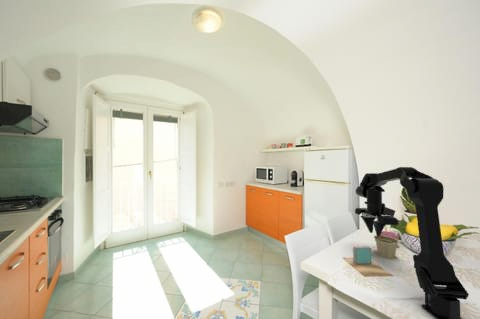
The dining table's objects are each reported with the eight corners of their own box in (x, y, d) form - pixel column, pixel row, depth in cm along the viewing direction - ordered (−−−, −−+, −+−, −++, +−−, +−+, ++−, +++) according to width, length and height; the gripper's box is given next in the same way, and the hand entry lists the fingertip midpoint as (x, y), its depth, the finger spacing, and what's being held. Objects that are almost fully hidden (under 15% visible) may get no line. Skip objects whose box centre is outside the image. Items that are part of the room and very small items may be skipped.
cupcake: (375, 243, 103) (375, 221, 103) (384, 240, 106) (384, 219, 106) (394, 249, 95) (393, 226, 95) (402, 246, 98) (402, 224, 99)
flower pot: (404, 263, 81) (404, 244, 82) (380, 261, 83) (380, 242, 83) (391, 253, 90) (391, 236, 91) (370, 251, 92) (370, 234, 93)
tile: (371, 264, 78) (371, 248, 79) (356, 264, 78) (355, 248, 78) (368, 262, 80) (368, 246, 80) (353, 262, 80) (353, 246, 80)
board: (394, 278, 70) (394, 275, 70) (364, 279, 70) (364, 276, 70) (367, 259, 84) (367, 257, 84) (342, 260, 84) (342, 257, 84)
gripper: (410, 204, 75) (411, 242, 75) (375, 196, 94) (375, 227, 94) (384, 204, 75) (385, 243, 74) (354, 196, 93) (354, 227, 93)
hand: (374, 234), depth 84 cm, fingers open, 4 cm apart
